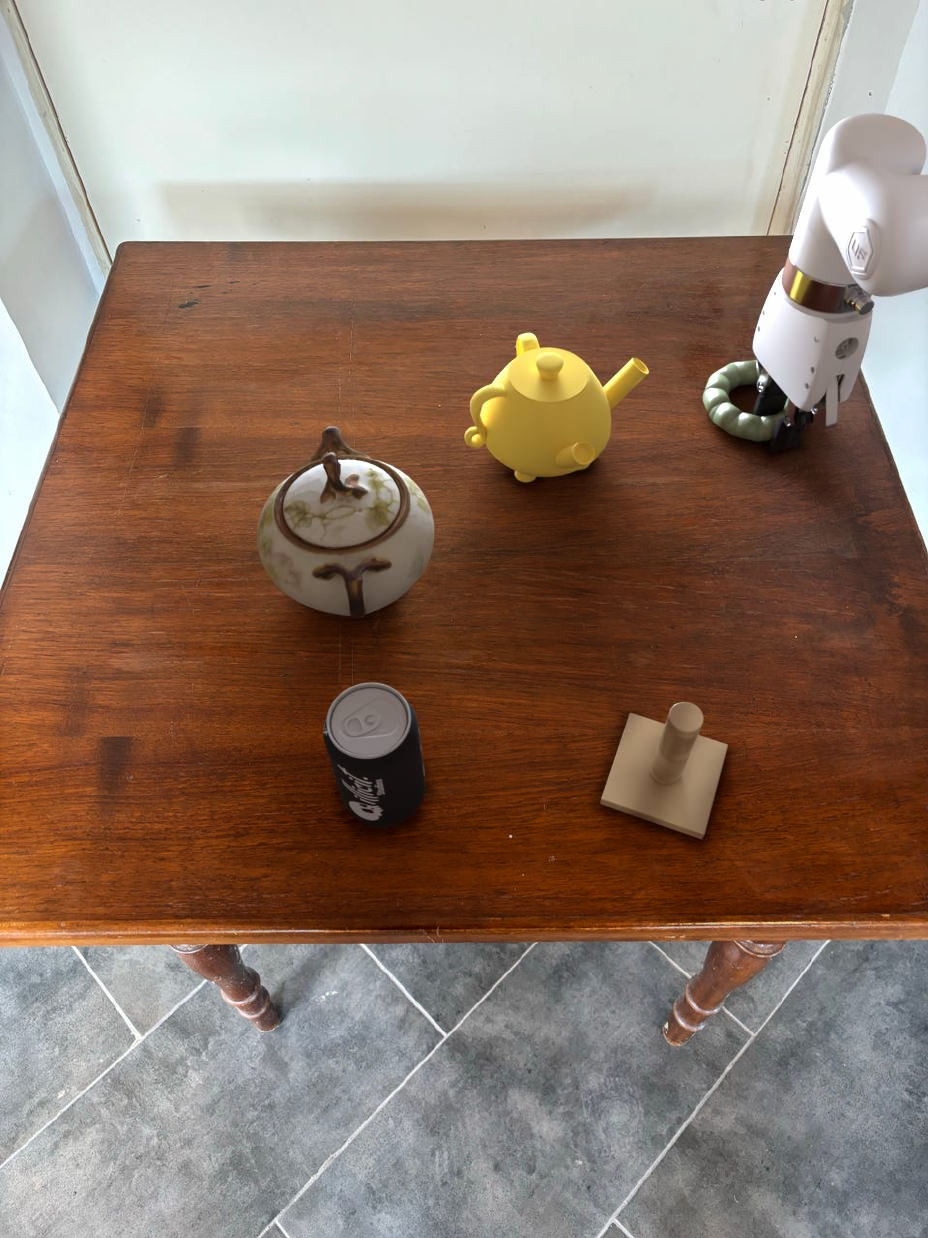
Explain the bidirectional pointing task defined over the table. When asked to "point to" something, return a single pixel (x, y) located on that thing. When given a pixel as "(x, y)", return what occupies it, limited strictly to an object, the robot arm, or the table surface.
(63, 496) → the table surface
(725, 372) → the ring
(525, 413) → the teapot
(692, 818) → the square base peg stand
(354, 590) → the sugar bowl
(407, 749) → the beverage can
